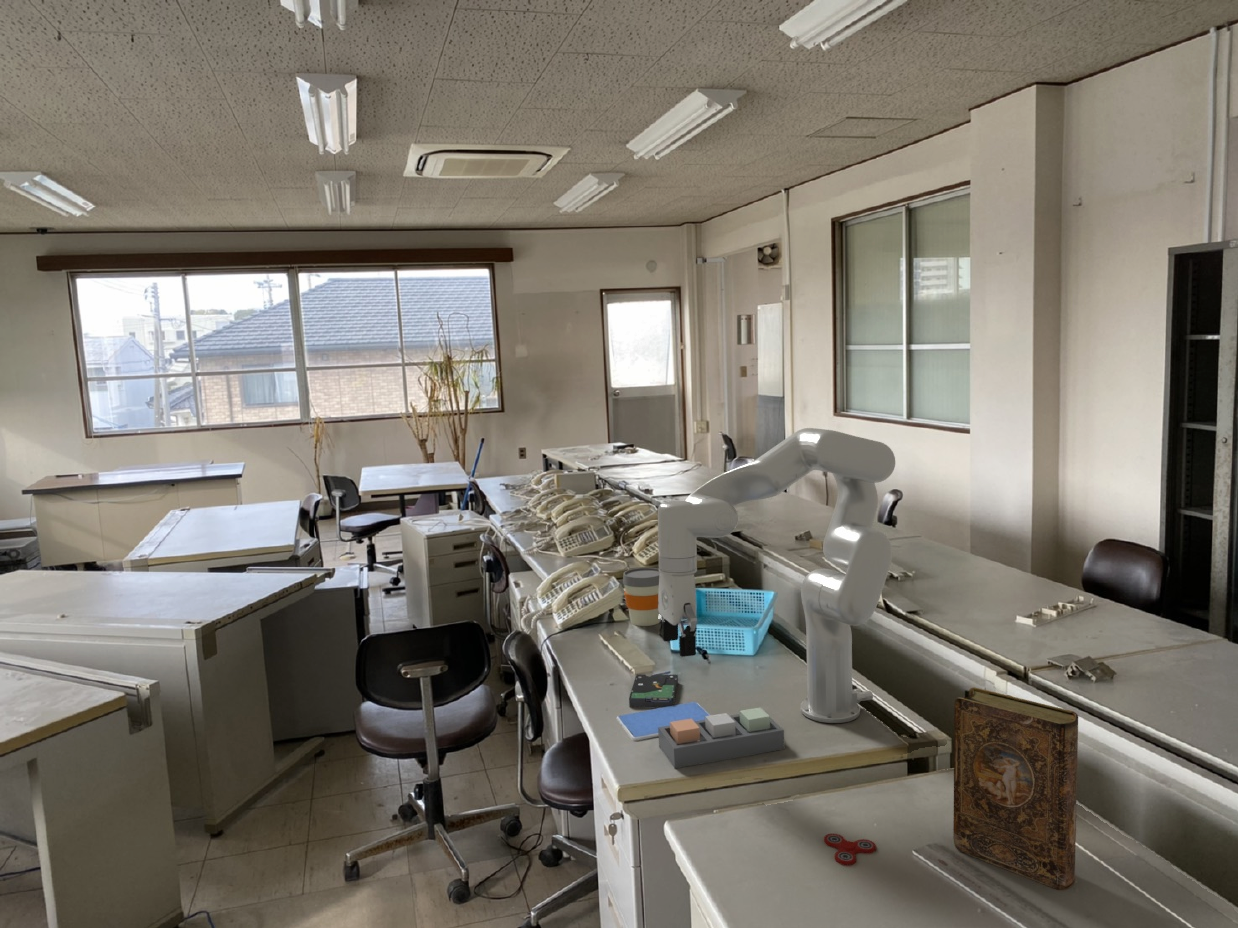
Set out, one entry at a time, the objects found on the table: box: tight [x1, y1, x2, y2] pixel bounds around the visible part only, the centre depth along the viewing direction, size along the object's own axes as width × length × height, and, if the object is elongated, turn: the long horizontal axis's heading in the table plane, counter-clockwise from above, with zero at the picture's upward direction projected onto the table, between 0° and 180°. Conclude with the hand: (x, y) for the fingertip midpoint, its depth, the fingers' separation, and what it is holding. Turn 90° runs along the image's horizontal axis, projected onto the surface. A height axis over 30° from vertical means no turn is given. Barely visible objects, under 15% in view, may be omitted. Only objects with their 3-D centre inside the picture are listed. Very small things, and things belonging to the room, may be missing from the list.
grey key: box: [705, 712, 735, 738], centre depth 169 cm, size 5×5×2 cm
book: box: [952, 686, 1079, 891], centre depth 126 cm, size 16×6×25 cm, turn 45°
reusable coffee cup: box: [622, 567, 661, 627], centre depth 252 cm, size 12×13×15 cm
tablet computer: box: [616, 701, 711, 742], centre depth 182 cm, size 19×13×1 cm, turn 108°
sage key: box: [739, 707, 771, 732], centre depth 170 cm, size 5×5×2 cm
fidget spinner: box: [823, 833, 877, 866], centre depth 133 cm, size 8×7×1 cm
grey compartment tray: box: [658, 713, 785, 769], centre depth 169 cm, size 23×10×4 cm, turn 105°
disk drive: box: [628, 673, 679, 709], centre depth 197 cm, size 10×3×15 cm
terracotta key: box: [670, 719, 700, 744], centre depth 167 cm, size 5×5×2 cm
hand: (678, 647), depth 168 cm, fingers open, 9 cm apart
